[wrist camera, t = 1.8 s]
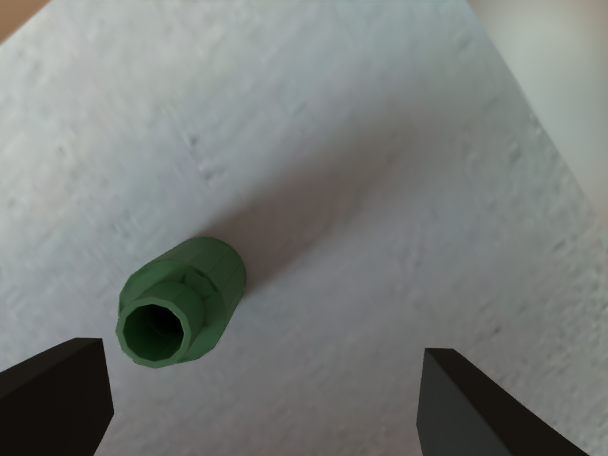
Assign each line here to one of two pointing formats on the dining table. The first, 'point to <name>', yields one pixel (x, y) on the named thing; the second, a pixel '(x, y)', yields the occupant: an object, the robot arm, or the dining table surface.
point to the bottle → (180, 303)
